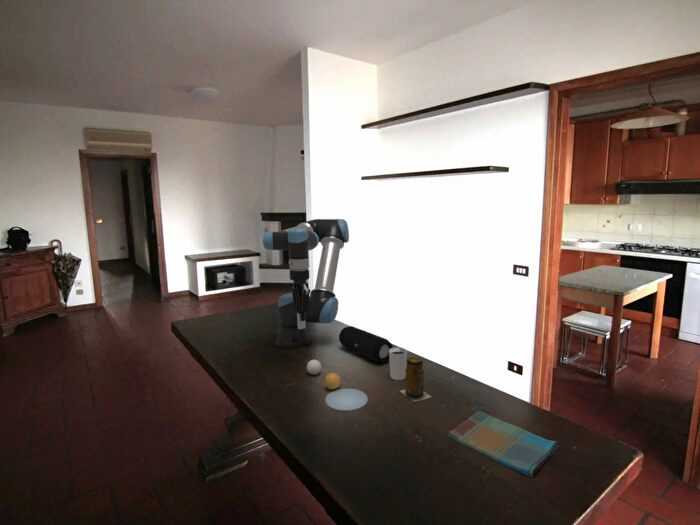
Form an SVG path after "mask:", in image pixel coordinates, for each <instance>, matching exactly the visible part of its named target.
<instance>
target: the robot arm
mask: <svg viewBox="0 0 700 525" xmlns="http://www.w3.org/2000/svg"><path fill="white" fill-rule="evenodd" d="M349 231H350V230H349V225H348V222H347V220H346V219H343V218H342V219H341V218H320V219H319V218H316V219H311V220H306V221H304V222H300V223H298V224H297V225H296V226H294V227H289V228H287V229H283V230H278V231H266V232H265V233H264V234H263V237H262V244H263V247H264V249H265V250H267V251H268V250H269V251H288V264H289V265H288V266H289V269H290V270H289V279H290V281H293V283H292V284H290V290H291V292H288V293H284V294H282V295H281V296H279V298H278V303H277V304H278V305H277V307H278V322H279V323H278V324H279V328H278V332H277V334H276V339H275V340H276V346H278V347H279V348H282V349H296V348H297V349H298V348H302V347H305V346H307V345H309V343H310V335H309V333H308V330H307V327H306V323H312V324H313V323H314V324H331V323H333V322H334V321H335V320H336V317H337V315H338V311H339V300H338V297H336V293H335V292H334V289H335V288H334V287H335V283H336V278H337V271H338V270H337V269H338V264H339V257H340V252H341V249H343V248H344V246H345V244H346V243H349V241H350V232H349ZM319 243H320V244H321V246H322V250H321V254H320V260H319V264H318V270H317V274H316V280H315V286H314V289H312V290H311V289H310V288H308V285H307V280H309V279H310V269H309V268H310V257H309V252H310V251H313V250H314V249H315V248H316V247H318V245H319Z"/></svg>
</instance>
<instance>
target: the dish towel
mask: <svg viewBox="0 0 700 525" xmlns="http://www.w3.org/2000/svg"><path fill="white" fill-rule="evenodd" d="M447 437H448V438H449V439H451V440H452V441H455V442H456V443H458V444H460V445H463V446H464V447H467V448H468V449H469V448H470V449H471V450H473V451H474V452H477V453H479V454H481V455H482V456H483V455H484V456H485V457H487V458H489V459H491V460H492V461H494V462H497V463H498V464H500V465H502V466H504V467H507V468H509V469H511V470H513V471H515V472H517V473H520V474H522V475H524V476H526V477H530V478H534V475H535V474H536V472H537V471H538V470H540V468H541V467H542V465H543V464H544V463H546V462H547V461H548V459H549V458H550V457H552V456H553V455H555V453H556V452H557V451H558V448H560V446H559V445H557V440H556V441H555V440H549V439H546V438H544V437H542V436H540V435H536V434H534V433H532V432H530V431H528V430H526V429H524V428H522V427H519V426H516V425H514V424H511V423H509V422H506V421H504V420H501V419H499V418H497V417H494V416H491V415H490V414H487V413H485V412H483V411H482V410H477V411H476V412H474V413H473V414H472V415H470V416H469V417H468V418H466V419H465V420H464V421H462V422H461V423H460V424H459V425H457V426H456V427H455V428H453V429H452V430H450V431H448V434H447Z"/></svg>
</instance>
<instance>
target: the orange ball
mask: <svg viewBox="0 0 700 525" xmlns="http://www.w3.org/2000/svg"><path fill="white" fill-rule="evenodd" d="M341 383H342V382H341V378H340V376H339V375H338V374H337V373H334V372H331V373H328V374H327V375H326V376H325V378H324V384H325V386H326V388H327V389H329V390H337V389H338V387H340V385H341Z"/></svg>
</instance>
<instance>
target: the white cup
mask: <svg viewBox="0 0 700 525" xmlns="http://www.w3.org/2000/svg"><path fill="white" fill-rule="evenodd" d="M407 359H408V349H406V348H404V347H397V346H396V347H393V348H391V349H390V350H389V360H388V362H389V375H390V376H389V377H390V378H391V379H392V380H394V381H395V380H396V381H402V380H404V379H405V380H406V378H405V377H406V366H407Z"/></svg>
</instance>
